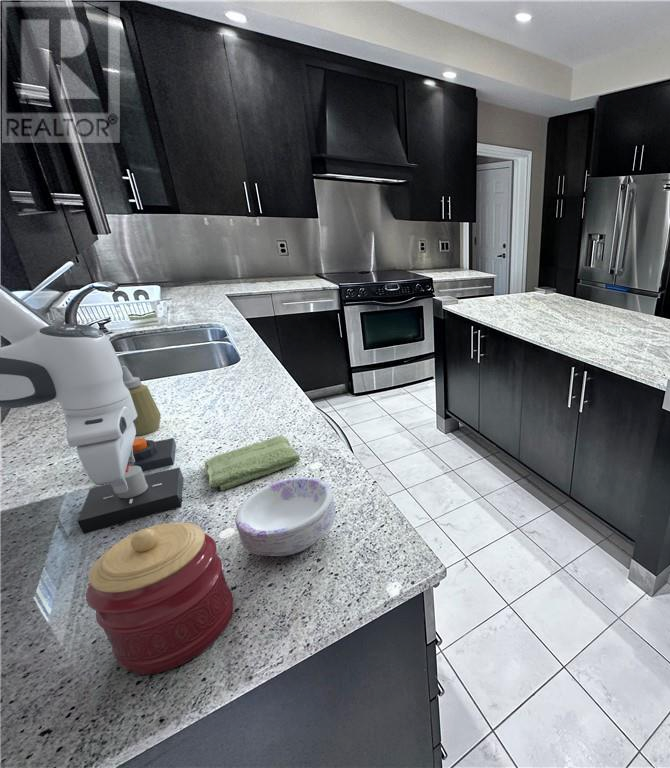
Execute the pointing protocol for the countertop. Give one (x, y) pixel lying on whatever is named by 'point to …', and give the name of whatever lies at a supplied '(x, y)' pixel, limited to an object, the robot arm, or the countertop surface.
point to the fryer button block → (156, 454)
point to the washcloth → (250, 462)
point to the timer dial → (134, 482)
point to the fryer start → (139, 444)
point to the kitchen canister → (160, 596)
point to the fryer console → (131, 502)
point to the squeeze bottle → (142, 404)
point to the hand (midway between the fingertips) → (126, 477)
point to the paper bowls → (286, 516)
